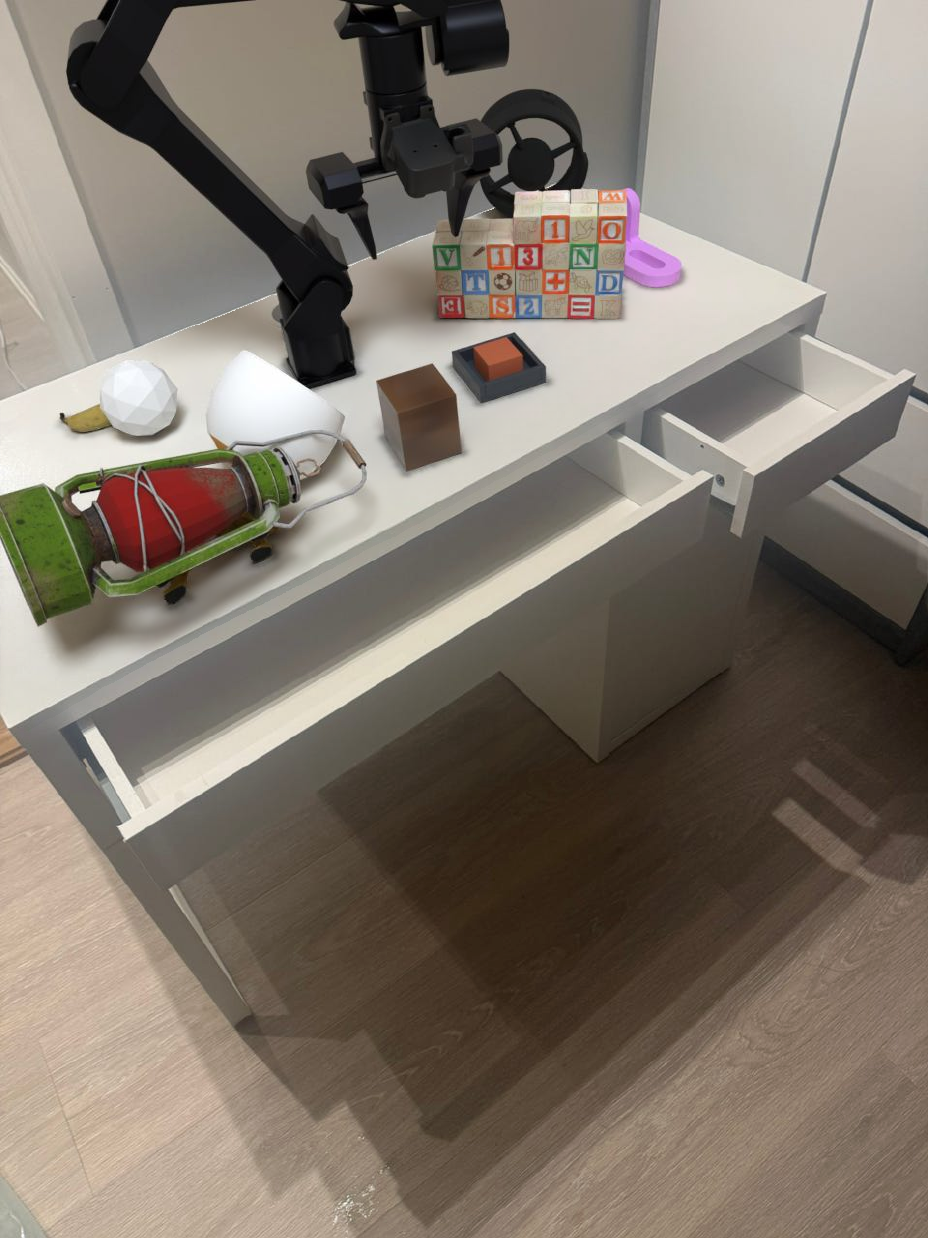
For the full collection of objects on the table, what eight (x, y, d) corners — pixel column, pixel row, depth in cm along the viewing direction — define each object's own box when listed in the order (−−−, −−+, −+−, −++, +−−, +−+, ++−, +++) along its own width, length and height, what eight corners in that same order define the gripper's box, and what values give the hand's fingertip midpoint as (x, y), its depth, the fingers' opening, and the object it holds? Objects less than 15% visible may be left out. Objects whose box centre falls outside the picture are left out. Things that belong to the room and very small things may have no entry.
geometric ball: (167, 435, 102) (184, 365, 99) (167, 454, 95) (186, 379, 92) (94, 415, 99) (111, 342, 96) (89, 433, 92) (106, 355, 89)
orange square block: (489, 385, 99) (488, 365, 97) (474, 366, 101) (473, 346, 99) (523, 374, 99) (522, 354, 98) (507, 356, 102) (506, 336, 100)
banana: (155, 416, 99) (154, 400, 102) (147, 396, 98) (146, 380, 101) (63, 442, 98) (65, 425, 101) (53, 423, 97) (55, 406, 100)
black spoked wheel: (462, 220, 119) (460, 183, 126) (566, 248, 123) (559, 211, 129) (497, 107, 109) (493, 73, 115) (610, 142, 112) (599, 107, 119)
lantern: (-36, 453, 69) (323, 357, 82) (2, 545, 78) (322, 446, 90) (21, 583, 63) (400, 459, 75) (55, 668, 72) (391, 544, 84)
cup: (159, 420, 84) (214, 329, 83) (225, 455, 96) (274, 375, 95) (261, 488, 81) (319, 393, 80) (317, 514, 92) (367, 432, 92)
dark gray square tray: (481, 403, 97) (480, 387, 96) (452, 366, 102) (451, 351, 101) (546, 382, 99) (546, 366, 98) (515, 347, 104) (514, 331, 102)
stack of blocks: (438, 320, 109) (428, 217, 99) (444, 292, 113) (435, 191, 104) (621, 318, 106) (628, 213, 97) (620, 290, 110) (627, 187, 101)
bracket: (584, 252, 117) (585, 198, 112) (617, 238, 119) (620, 183, 114) (655, 292, 109) (661, 235, 104) (689, 275, 111) (696, 219, 106)
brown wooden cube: (406, 471, 91) (397, 413, 86) (385, 438, 95) (375, 380, 89) (461, 452, 92) (456, 394, 87) (439, 420, 96) (432, 362, 91)
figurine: (294, 550, 85) (235, 464, 92) (279, 507, 80) (217, 419, 87) (144, 627, 81) (93, 532, 88) (118, 587, 76) (66, 489, 83)
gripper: (326, 137, 77) (356, 306, 89) (525, 88, 81) (528, 256, 93) (289, 95, 84) (321, 257, 96) (474, 52, 88) (483, 212, 100)
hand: (414, 246), depth 96 cm, fingers open, 9 cm apart
